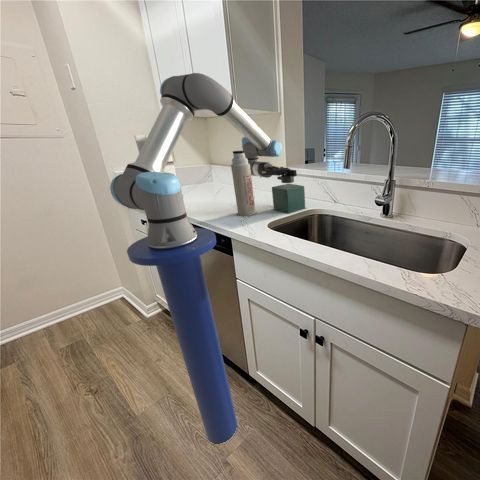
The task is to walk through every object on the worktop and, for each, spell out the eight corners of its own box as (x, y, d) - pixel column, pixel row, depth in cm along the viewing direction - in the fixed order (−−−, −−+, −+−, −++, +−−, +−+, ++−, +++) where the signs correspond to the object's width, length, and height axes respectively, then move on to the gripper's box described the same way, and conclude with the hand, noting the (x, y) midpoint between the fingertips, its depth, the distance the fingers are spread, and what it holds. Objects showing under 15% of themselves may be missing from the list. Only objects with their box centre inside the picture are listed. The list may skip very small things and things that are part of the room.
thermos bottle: (258, 213, 123) (251, 150, 112) (244, 216, 117) (235, 151, 106) (249, 210, 128) (241, 150, 117) (234, 213, 122) (225, 151, 111)
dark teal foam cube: (271, 208, 129) (269, 186, 125) (288, 204, 136) (286, 183, 132) (288, 213, 121) (287, 189, 117) (305, 208, 129) (304, 186, 124)
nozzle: (274, 181, 125) (273, 175, 124) (283, 179, 129) (283, 173, 128) (287, 183, 119) (286, 177, 118) (296, 181, 123) (296, 175, 122)
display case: (170, 196, 160) (155, 135, 147) (181, 197, 156) (167, 135, 142) (151, 200, 151) (134, 135, 138) (163, 202, 147) (146, 135, 133)
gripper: (274, 175, 138) (305, 179, 124) (253, 178, 130) (285, 183, 115) (272, 160, 136) (305, 163, 121) (251, 163, 127) (283, 166, 112)
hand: (295, 173), depth 118 cm, fingers closed
